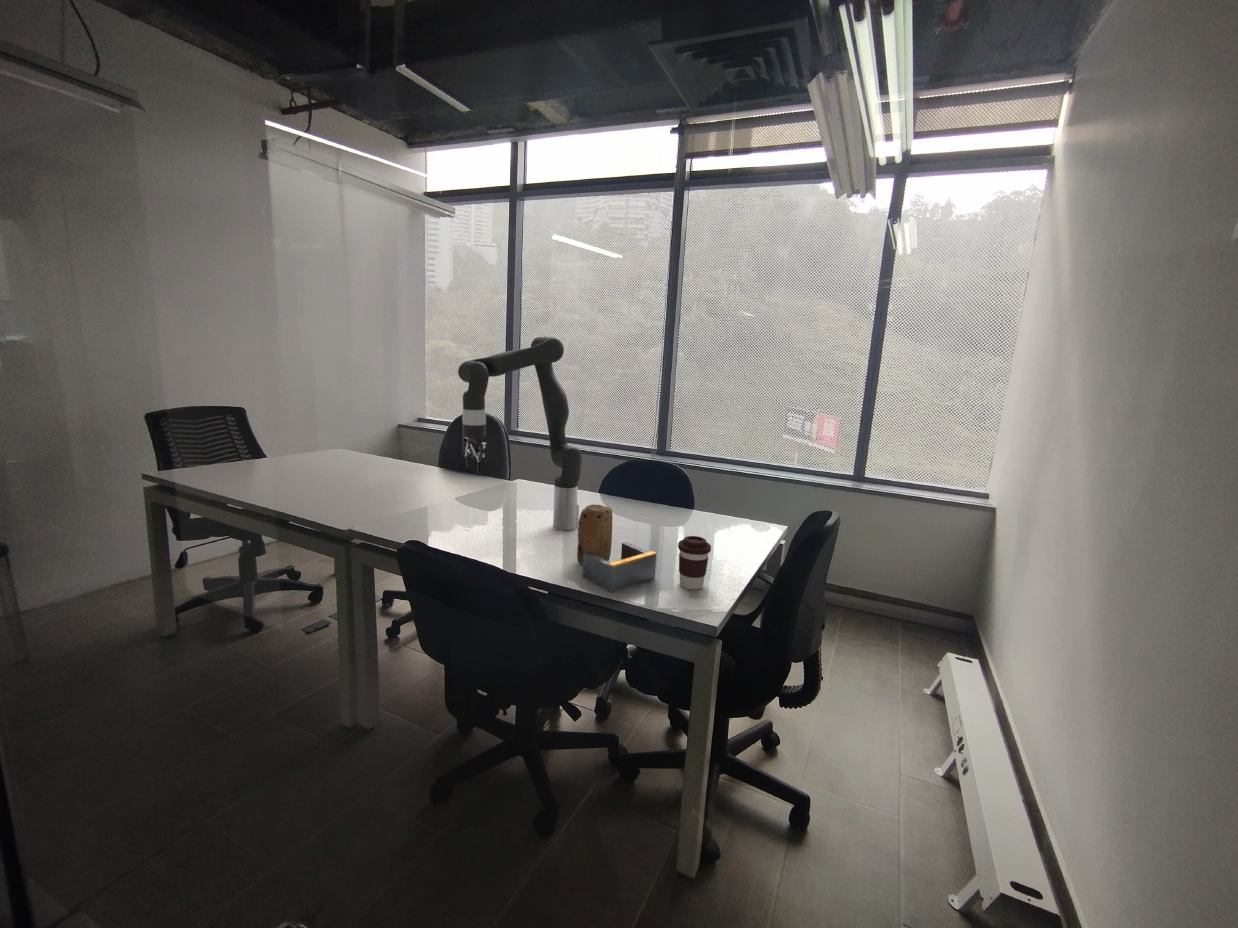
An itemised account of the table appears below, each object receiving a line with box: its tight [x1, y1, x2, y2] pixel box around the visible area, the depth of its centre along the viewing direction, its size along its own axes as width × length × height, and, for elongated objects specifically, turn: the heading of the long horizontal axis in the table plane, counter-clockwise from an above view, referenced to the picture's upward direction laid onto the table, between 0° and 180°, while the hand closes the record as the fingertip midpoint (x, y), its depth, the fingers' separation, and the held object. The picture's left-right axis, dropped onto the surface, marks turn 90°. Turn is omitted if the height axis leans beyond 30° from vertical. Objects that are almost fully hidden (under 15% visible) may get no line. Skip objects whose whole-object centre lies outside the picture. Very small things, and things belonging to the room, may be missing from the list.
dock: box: [581, 541, 657, 594], centre depth 166 cm, size 18×14×9 cm
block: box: [576, 503, 613, 565], centre depth 174 cm, size 11×8×20 cm
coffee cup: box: [677, 535, 712, 591], centre depth 163 cm, size 10×10×15 cm
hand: (475, 470), depth 179 cm, fingers open, 8 cm apart
